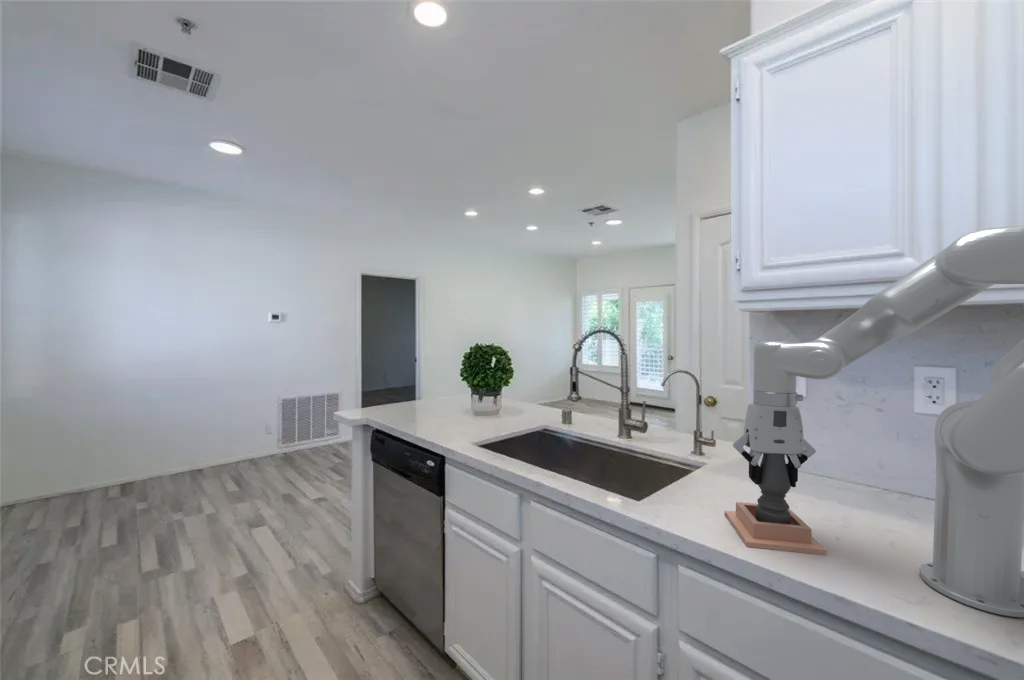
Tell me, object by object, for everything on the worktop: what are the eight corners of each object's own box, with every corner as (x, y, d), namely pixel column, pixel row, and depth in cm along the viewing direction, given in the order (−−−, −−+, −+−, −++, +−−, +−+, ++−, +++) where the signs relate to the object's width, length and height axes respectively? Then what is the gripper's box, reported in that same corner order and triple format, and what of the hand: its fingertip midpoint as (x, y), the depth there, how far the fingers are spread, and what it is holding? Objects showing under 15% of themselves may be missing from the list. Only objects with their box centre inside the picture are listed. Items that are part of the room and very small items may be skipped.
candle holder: (796, 534, 81) (798, 412, 81) (762, 531, 82) (764, 410, 82) (782, 520, 87) (783, 406, 87) (751, 517, 88) (752, 405, 88)
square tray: (791, 520, 91) (791, 503, 90) (826, 555, 77) (827, 534, 77) (724, 514, 93) (724, 498, 93) (746, 546, 80) (747, 527, 80)
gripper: (810, 397, 86) (809, 480, 87) (724, 395, 90) (723, 474, 90) (830, 404, 79) (829, 494, 79) (735, 400, 82) (734, 487, 83)
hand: (772, 482), depth 85 cm, fingers open, 6 cm apart
